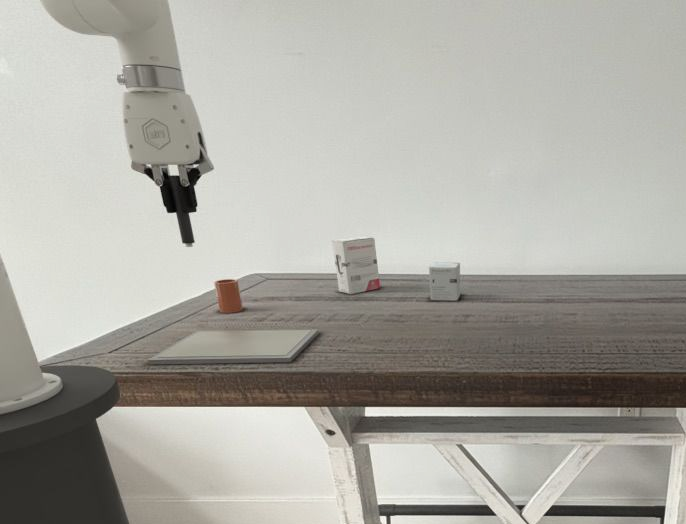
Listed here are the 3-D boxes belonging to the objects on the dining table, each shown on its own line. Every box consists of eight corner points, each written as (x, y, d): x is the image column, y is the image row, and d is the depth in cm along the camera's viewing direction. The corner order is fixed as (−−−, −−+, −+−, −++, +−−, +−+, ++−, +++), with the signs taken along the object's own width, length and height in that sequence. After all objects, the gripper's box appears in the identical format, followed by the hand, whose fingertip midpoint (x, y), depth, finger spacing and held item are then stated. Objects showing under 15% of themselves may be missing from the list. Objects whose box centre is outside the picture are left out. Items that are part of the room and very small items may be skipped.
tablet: (290, 362, 84) (289, 356, 83) (149, 364, 83) (147, 358, 83) (318, 333, 98) (318, 328, 97) (197, 335, 97) (196, 330, 97)
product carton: (430, 300, 120) (428, 266, 117) (434, 294, 126) (432, 261, 123) (458, 301, 120) (456, 266, 117) (461, 294, 126) (460, 261, 123)
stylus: (192, 247, 91) (177, 175, 87) (181, 247, 91) (165, 175, 87) (197, 246, 93) (183, 175, 89) (186, 246, 92) (171, 175, 88)
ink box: (368, 285, 135) (363, 235, 130) (380, 288, 132) (376, 237, 127) (337, 291, 129) (330, 239, 124) (349, 294, 126) (343, 241, 121)
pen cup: (238, 313, 111) (232, 283, 109) (216, 313, 111) (210, 283, 109) (246, 307, 115) (241, 279, 113) (225, 308, 115) (219, 279, 113)
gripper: (84, 79, 79) (117, 214, 86) (197, 80, 80) (222, 214, 87) (116, 87, 86) (145, 211, 93) (220, 87, 87) (241, 210, 94)
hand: (182, 211), depth 90 cm, fingers closed on stylus, 2 cm apart
